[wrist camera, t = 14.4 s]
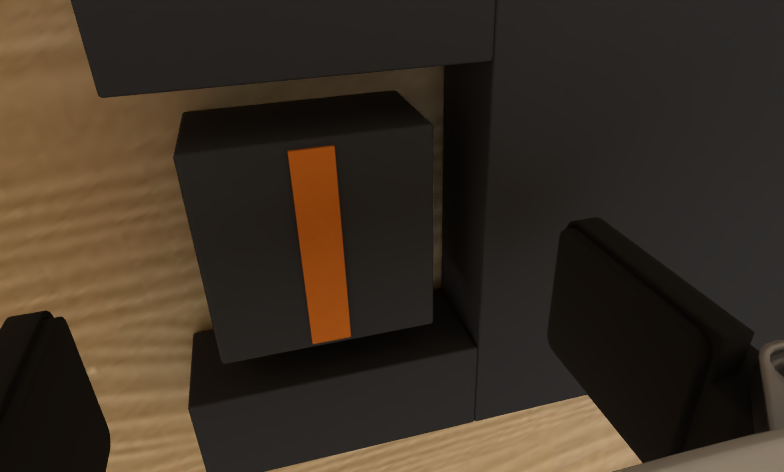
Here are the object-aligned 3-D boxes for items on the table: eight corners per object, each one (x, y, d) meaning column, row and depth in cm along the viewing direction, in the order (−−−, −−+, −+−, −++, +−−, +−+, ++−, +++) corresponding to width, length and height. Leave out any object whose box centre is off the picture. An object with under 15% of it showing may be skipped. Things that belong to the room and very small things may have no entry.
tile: (181, 111, 14) (171, 156, 11) (396, 89, 15) (436, 125, 12) (221, 295, 17) (221, 368, 14) (401, 264, 18) (435, 326, 15)
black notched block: (211, 404, 19) (210, 485, 16) (85, -81, 12) (44, -85, 9) (893, 261, 25) (976, 302, 22) (1068, -113, 18) (1220, -121, 15)
